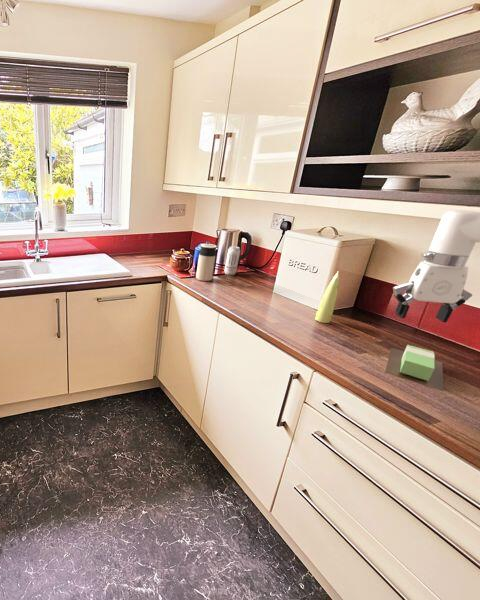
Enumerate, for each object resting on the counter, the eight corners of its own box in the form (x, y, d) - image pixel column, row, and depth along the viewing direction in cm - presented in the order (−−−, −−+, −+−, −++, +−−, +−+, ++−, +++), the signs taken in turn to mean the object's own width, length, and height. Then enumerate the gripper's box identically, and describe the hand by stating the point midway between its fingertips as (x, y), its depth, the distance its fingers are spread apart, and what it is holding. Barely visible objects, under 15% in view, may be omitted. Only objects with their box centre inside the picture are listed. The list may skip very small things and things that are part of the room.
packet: (428, 363, 102) (434, 351, 101) (428, 381, 93) (434, 368, 91) (402, 355, 106) (407, 344, 105) (399, 372, 97) (404, 359, 95)
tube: (334, 324, 128) (350, 275, 120) (321, 324, 127) (337, 275, 120) (323, 317, 133) (338, 270, 126) (311, 318, 133) (325, 271, 125)
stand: (441, 363, 103) (442, 362, 103) (442, 392, 90) (443, 390, 90) (390, 349, 111) (391, 347, 111) (384, 373, 98) (384, 372, 97)
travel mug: (214, 280, 174) (220, 246, 167) (201, 281, 172) (206, 247, 165) (206, 276, 181) (211, 243, 174) (192, 277, 179) (197, 244, 173)
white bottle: (223, 274, 184) (228, 247, 178) (224, 271, 189) (228, 245, 183) (235, 276, 182) (240, 249, 176) (235, 273, 187) (240, 246, 181)
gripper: (415, 260, 86) (391, 320, 93) (499, 265, 83) (468, 327, 89) (397, 253, 93) (376, 309, 100) (474, 258, 89) (447, 316, 96)
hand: (419, 318), depth 94 cm, fingers open, 9 cm apart
